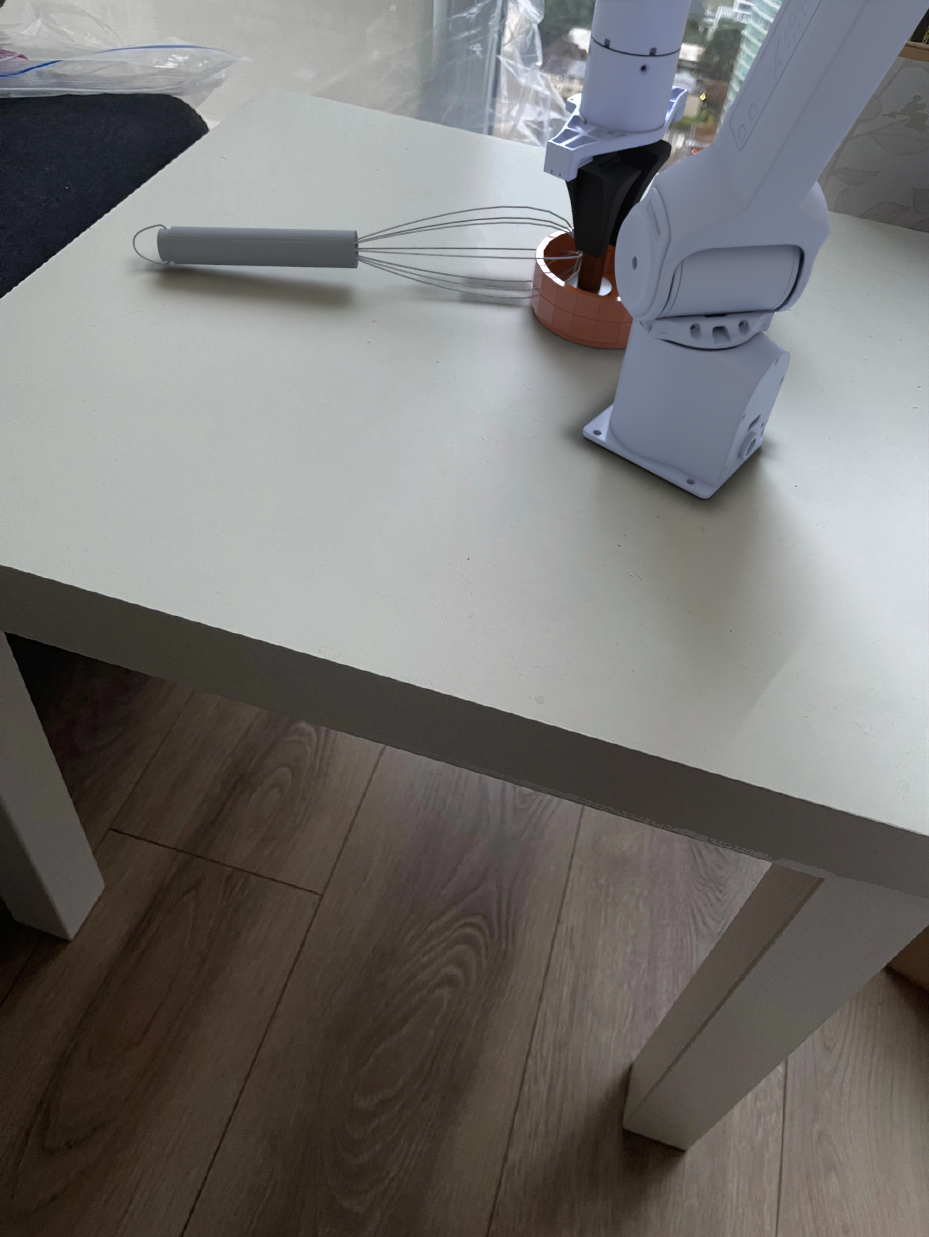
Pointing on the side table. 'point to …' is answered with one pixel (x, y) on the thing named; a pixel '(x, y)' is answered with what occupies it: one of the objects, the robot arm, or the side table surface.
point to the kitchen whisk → (317, 247)
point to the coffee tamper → (592, 275)
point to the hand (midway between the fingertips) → (597, 246)
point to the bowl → (576, 298)
